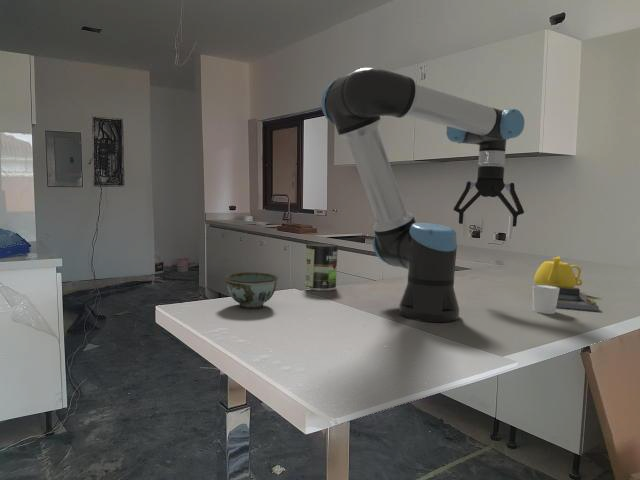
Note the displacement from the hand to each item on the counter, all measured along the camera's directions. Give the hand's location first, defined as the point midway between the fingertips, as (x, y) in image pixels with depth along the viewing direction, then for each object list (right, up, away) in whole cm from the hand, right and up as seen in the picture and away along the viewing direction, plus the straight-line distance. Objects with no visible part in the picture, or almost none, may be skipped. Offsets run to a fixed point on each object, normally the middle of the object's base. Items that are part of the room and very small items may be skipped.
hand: (486, 236), depth 148 cm
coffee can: (-51, -17, +8) cm, 54 cm away
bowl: (-69, -19, -20) cm, 74 cm away
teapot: (+31, -19, +18) cm, 40 cm away
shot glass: (+11, -21, -14) cm, 28 cm away
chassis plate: (+24, -20, -1) cm, 31 cm away
